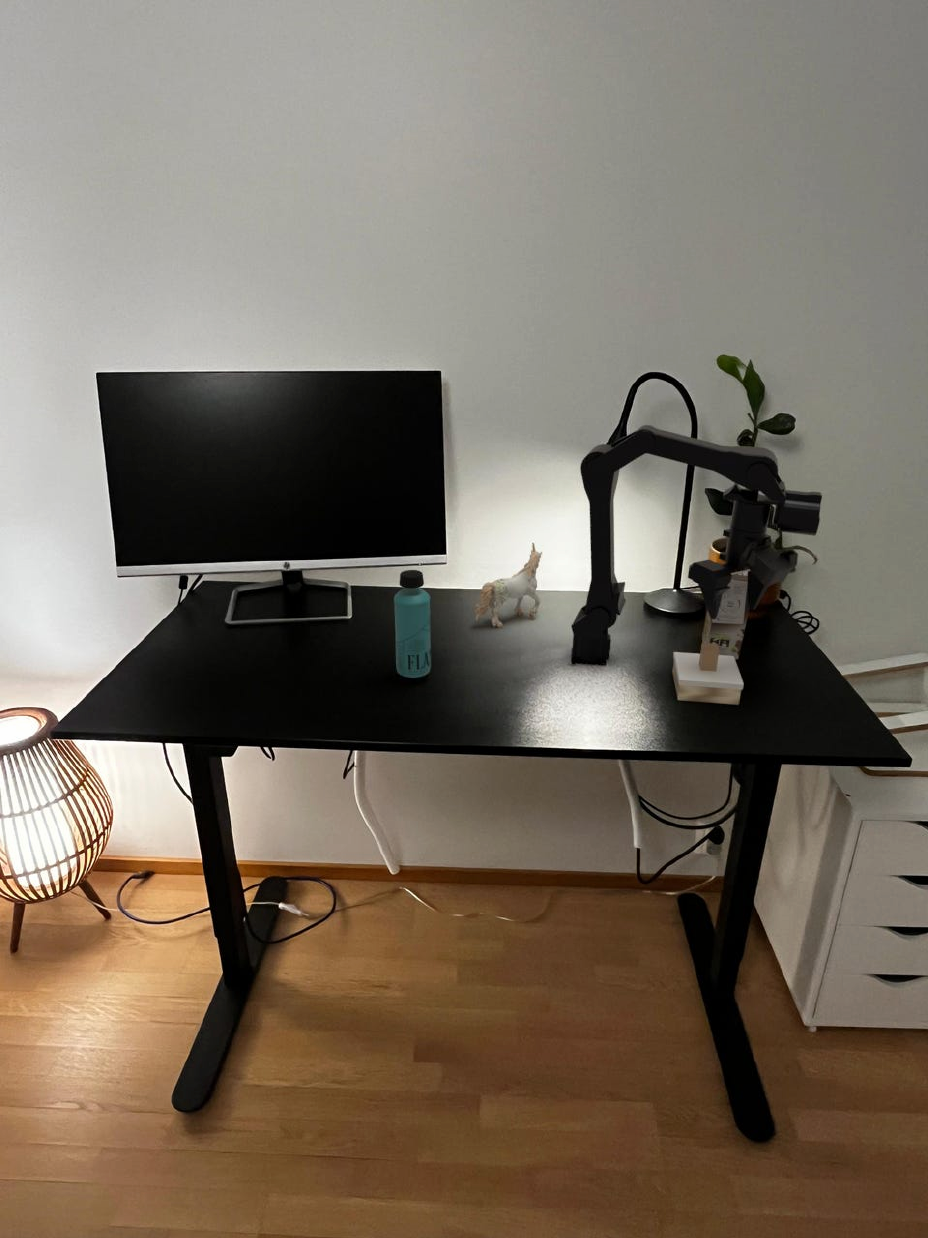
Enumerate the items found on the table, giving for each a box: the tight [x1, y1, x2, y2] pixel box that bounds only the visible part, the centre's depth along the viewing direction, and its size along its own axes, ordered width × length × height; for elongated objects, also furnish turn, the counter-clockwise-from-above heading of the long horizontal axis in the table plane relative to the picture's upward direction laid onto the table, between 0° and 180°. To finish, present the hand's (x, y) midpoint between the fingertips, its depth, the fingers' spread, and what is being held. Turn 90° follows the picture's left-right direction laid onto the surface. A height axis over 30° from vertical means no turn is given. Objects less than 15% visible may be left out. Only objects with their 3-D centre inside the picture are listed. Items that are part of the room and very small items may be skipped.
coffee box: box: [701, 561, 751, 660], centre depth 152 cm, size 9×6×16 cm
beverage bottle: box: [393, 569, 433, 679], centre depth 141 cm, size 6×7×20 cm
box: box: [672, 663, 742, 706], centre depth 140 cm, size 10×10×4 cm
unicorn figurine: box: [474, 542, 543, 629], centre depth 166 cm, size 7×20×13 cm, turn 139°
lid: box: [672, 642, 745, 691], centre depth 139 cm, size 10×10×5 cm
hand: (732, 613), depth 139 cm, fingers open, 9 cm apart
